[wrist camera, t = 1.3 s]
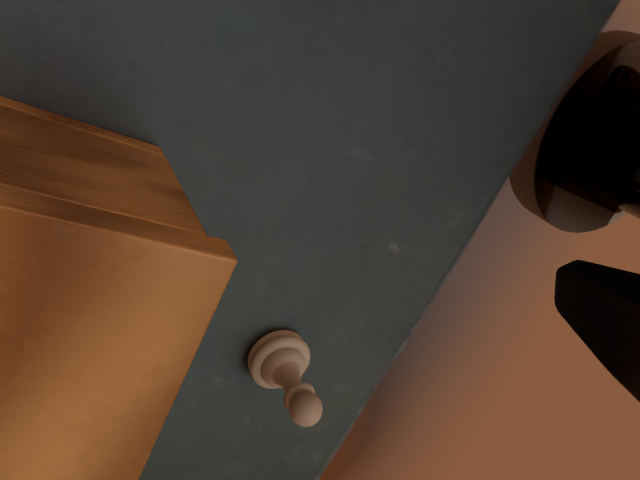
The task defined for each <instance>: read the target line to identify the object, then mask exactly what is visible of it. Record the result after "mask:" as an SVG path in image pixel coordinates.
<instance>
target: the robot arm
mask: <svg viewBox="0 0 640 480" xmlns="http://www.w3.org/2000/svg"><path fill="white" fill-rule="evenodd" d="M550 182H551V183H552V184H554V185H555V186H557V187H559V188H562V189H564V190H566V191H568V192H570V193H573V194H575V195H577V196H579V197H581V198H584V199H586V200H588V201H590V202H592V203H595V204H597V205H599V206H601V207H603V208H606V209H608V210H610V211H612V212H614V213H620V212H622V211H623V210H624V211H625V212H627V213H629V214H631V215H633V216H635V217H637V218H639V219H640V73H639V72H638V71H636V70H635V69H633V68H632V67H629V66H626V65H619V66H618V67H616V68H615V70H614V71H613V72H612V74H611V76H610V77H609V79H608V81H607V82H606V84H605V85H604V87H603V89H602V90H601V92H600V94H599V95H598V97H597V99H596V100H595V102H594V104H593V105H592V107H591V109H590V110H589V112H588V113H587V115H586V117H585V118H584V120H583V122H582V123H581V125H580V127H579V128H578V130H577V132H576V133H575V135H574V136H573V138H572V140H571V141H570V143H569V145H568V146H567V148H566V150H565V151H564V153H563V155H562V156H561V158H560V159H559V161H558V163H557V164H556V166H555V168H554V169H553V171H552V173H551V175H550ZM555 282H556V283H555V299H554V300H555V305H556V308H557V310H558V312H559V313H560V314H561V316H562V317H563V318H564V319H565V320H566V321H567V323H568V324H569V325H570V326H571V327H572V329H573V330H574V331H575V332H576V333H577V335H578V336H579V337H580V338H581V339H582V340H583V341H584V343H585V344H586V345H587V346H588V348H589V349H590V350H591V351H592V352H593V354H594V355H595V356H596V357H597V358H598V359H599V361H600V362H601V363H602V364H603V365H604V366H605V367H606V369H607V370H608V371H609V372H610V373H611V374H612V375H613V376H614V377H615V378H616V379H617V380H618V381H619V382H620V384H622V385H623V386H624V387H625V388H626V389H627V390H628V391H629V392H630V393H631V394H632V395H633V396H634V397H635V398H636V399H637V400H638V401H639V402H640V274H637V273H633V272H628V271H624V270H620V269H616V268H612V267H607V266H603V265H599V264H595V263H591V262H586V261H581V260H575V261H572V262H570V263H568V264H566V265H564V266H561V267H560V268H558V270H557V272H556V281H555Z"/></svg>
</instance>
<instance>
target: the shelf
mask: <svg viewBox="0 0 640 480" xmlns="http://www.w3.org/2000/svg"><path fill="white" fill-rule="evenodd" d="M236 264H237V258H236V256H235V254H234V253H233V251H232V249H231V247H230V246H229V244H228V242H227V241H226V240H223V239H219V238H215V237H211V236H207V235H206V232H205V231H204V229H203V227H202V225H201V223H200V221H199V219H198V217H197V215H196V214H195V212H194V210H193V208H192V206H191V204H190V202H189V200H188V198H187V196H186V195H185V193H184V191H183V189H182V187H181V185H180V183H179V181H178V179H177V178H176V176H175V174H174V172H173V170H172V168H171V166H170V164H169V162H168V160H167V159H166V157H165V155H164V153H163V151H162V149H161V148H160V147H159V146H155V145H152V144H149V143H146V142H143V141H140V140H137V139H133V138H130V137H127V136H124V135H121V134H118V133H115V132H112V131H108V130H105V129H102V128H99V127H96V126H93V125H90V124H87V123H83V122H80V121H77V120H74V119H71V118H68V117H65V116H61V115H58V114H55V113H52V112H49V111H46V110H43V109H40V108H36V107H33V106H30V105H27V104H24V103H21V102H18V101H14V100H11V99H8V98H5V97H2V96H0V480H138V479H139V477H140V475H141V473H142V470H143V468H144V466H145V464H146V462H147V459H148V457H149V455H150V453H151V451H152V448H153V446H154V444H155V442H156V440H157V437H158V435H159V433H160V431H161V429H162V426H163V424H164V422H165V420H166V418H167V415H168V413H169V411H170V409H171V407H172V404H173V402H174V400H175V398H176V396H177V393H178V391H179V389H180V387H181V385H182V382H183V380H184V378H185V376H186V374H187V371H188V369H189V367H190V365H191V363H192V360H193V358H194V356H195V354H196V352H197V349H198V347H199V345H200V343H201V341H202V338H203V336H204V334H205V332H206V330H207V327H208V325H209V323H210V321H211V319H212V316H213V314H214V312H215V310H216V308H217V305H218V303H219V301H220V299H221V297H222V294H223V292H224V290H225V288H226V286H227V283H228V281H229V279H230V277H231V275H232V272H233V270H234V268H235V266H236Z"/></svg>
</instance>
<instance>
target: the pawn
mask: <svg viewBox="0 0 640 480" xmlns="http://www.w3.org/2000/svg"><path fill="white" fill-rule="evenodd" d="M309 361H310V350H309V348H308V345H307V344H306V343H305V342H304V341H303V339H302V338H301V337H300V336H299V335H298V334H297V333H295V332H293V331H289V330H277V331H274V332H270V333H268V334H267V335H265V336H263V337H262V338H260V339H259V340H258V341H257V342H256V343H255V344H254V345H253V347H252V348H251V350H250V352H249V355H248V360H247V362H248V368H249V370H250V374H251V376H252V378H253V380H254V381H255V382H256V383H257V384H258V385H259V386H262V387H264V388H270V389H275V388H284V390H285V391H286V393H285V395H284V399H283V401H284V405H285V407H287V408H288V409H289V413H290V416H291V418H292V420H293V421H294V422H295V423H296V424H298V425H300V426H303V427H309V426H313V425H314V424H316V423H317V422H318V421H319V420H320V418H321V416H322V412H323V408H322V403H321V401H320V399H319V398H318V397H317V396H316V395H315V390H314V388H313V387H312V386H311V385H310V384H308V383H302V382H301V378H300V377H301V376H302V374H303V373H304V372H305V370H306V368H307V367H308V365H309Z"/></svg>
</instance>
